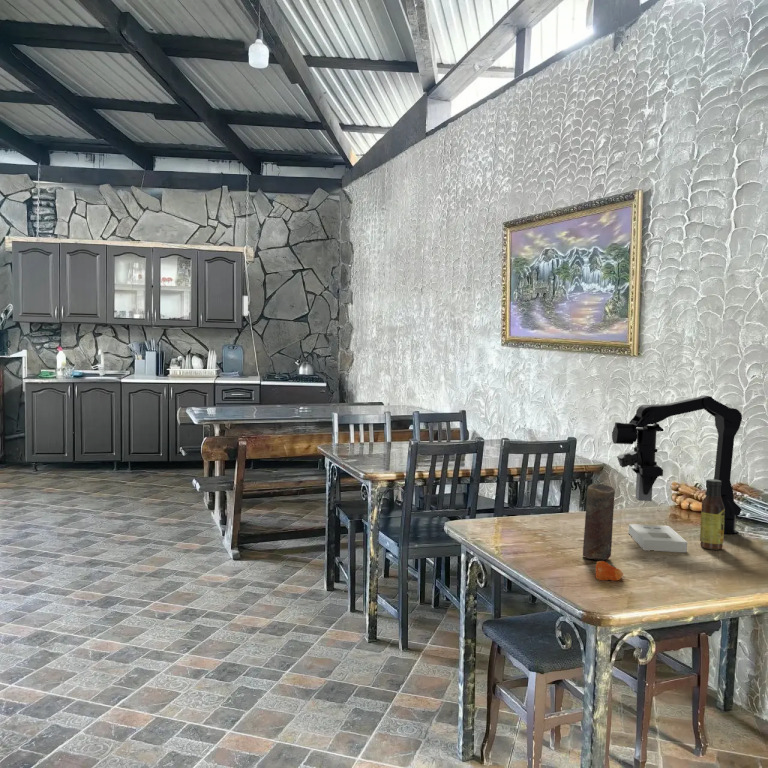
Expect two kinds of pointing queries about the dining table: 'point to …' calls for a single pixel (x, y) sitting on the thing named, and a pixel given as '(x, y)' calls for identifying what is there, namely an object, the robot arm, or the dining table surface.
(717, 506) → the sauce bottle
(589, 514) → the candle
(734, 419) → the robot arm
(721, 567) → the dining table surface
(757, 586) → the dining table surface
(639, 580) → the dining table surface
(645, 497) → the plug
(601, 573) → the rock
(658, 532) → the socket plate
